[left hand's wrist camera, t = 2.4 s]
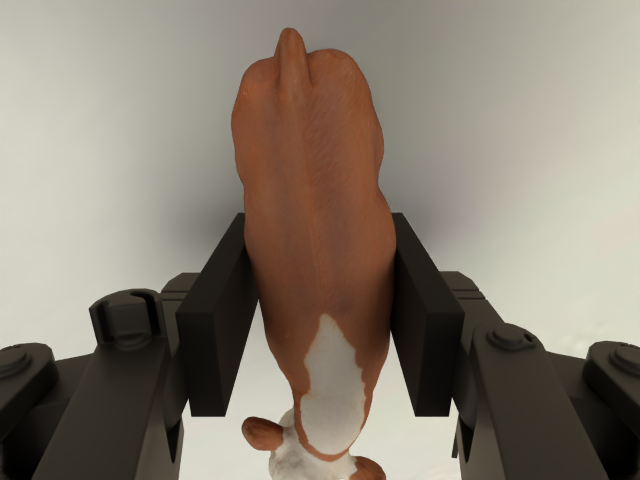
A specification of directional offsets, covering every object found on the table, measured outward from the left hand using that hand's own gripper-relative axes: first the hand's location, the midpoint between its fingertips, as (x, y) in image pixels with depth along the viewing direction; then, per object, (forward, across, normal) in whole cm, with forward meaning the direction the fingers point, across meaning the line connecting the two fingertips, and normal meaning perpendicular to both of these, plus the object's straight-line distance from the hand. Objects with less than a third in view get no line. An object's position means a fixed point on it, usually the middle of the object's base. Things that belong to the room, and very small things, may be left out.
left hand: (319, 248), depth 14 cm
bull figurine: (+2, 0, 0) cm, 2 cm away
